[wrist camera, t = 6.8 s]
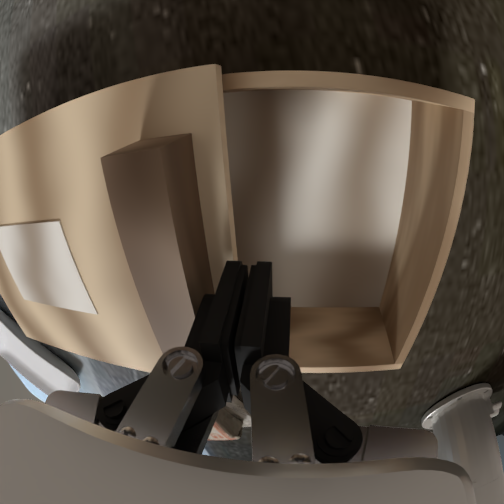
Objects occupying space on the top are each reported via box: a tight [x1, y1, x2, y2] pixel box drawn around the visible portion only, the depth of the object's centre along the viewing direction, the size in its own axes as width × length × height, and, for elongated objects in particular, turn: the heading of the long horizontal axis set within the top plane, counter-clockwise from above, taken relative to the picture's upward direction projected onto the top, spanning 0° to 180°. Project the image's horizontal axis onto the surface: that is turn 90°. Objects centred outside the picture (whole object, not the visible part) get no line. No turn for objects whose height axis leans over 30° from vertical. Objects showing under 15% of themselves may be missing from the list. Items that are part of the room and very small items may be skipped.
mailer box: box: [222, 71, 475, 373], centre depth 15 cm, size 20×16×6 cm
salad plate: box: [0, 310, 80, 396], centre depth 36 cm, size 21×21×3 cm
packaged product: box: [208, 395, 251, 440], centre depth 32 cm, size 18×5×10 cm
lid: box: [0, 64, 238, 372], centre depth 12 cm, size 21×17×3 cm
